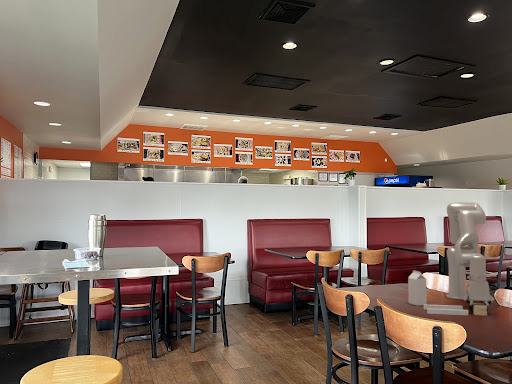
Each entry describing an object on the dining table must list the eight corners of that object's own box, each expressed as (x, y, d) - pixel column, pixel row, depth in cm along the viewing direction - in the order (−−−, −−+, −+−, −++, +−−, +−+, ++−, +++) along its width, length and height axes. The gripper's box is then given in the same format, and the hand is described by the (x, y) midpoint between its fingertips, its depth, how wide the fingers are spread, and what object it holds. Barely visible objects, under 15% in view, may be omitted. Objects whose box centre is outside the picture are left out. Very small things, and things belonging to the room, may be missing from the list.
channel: (423, 308, 229) (423, 304, 229) (462, 310, 225) (462, 305, 225) (427, 313, 219) (427, 308, 219) (468, 315, 216) (468, 310, 216)
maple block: (470, 312, 222) (470, 302, 223) (482, 312, 221) (482, 303, 222) (474, 315, 217) (474, 305, 217) (487, 315, 215) (486, 306, 216)
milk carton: (416, 306, 236) (415, 272, 236) (408, 303, 242) (408, 270, 243) (426, 305, 237) (426, 271, 238) (418, 302, 244) (418, 270, 245)
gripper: (462, 279, 218) (463, 313, 217) (498, 280, 215) (498, 315, 214) (458, 276, 225) (458, 310, 225) (492, 277, 222) (493, 311, 222)
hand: (478, 312), depth 219 cm, fingers open, 6 cm apart
